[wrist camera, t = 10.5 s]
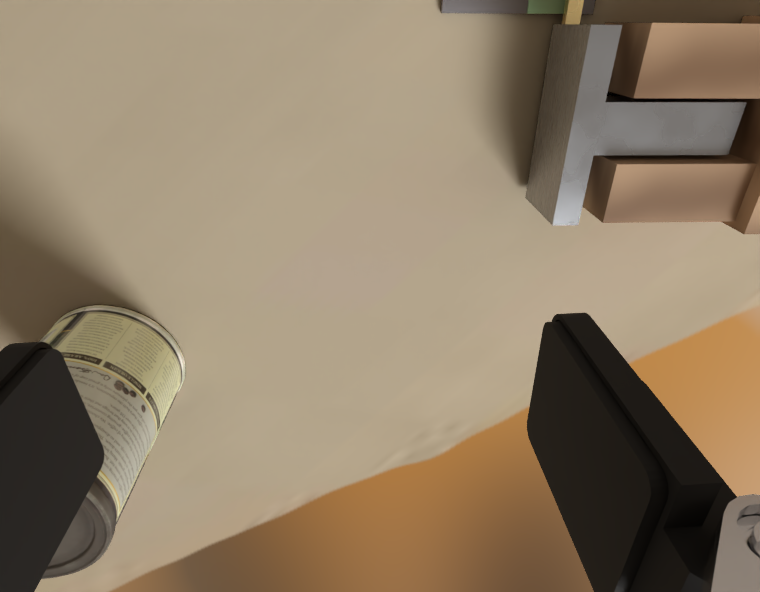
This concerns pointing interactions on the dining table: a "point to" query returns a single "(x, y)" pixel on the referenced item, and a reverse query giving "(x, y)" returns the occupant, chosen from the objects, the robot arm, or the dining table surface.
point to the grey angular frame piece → (608, 119)
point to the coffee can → (114, 413)
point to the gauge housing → (673, 80)
